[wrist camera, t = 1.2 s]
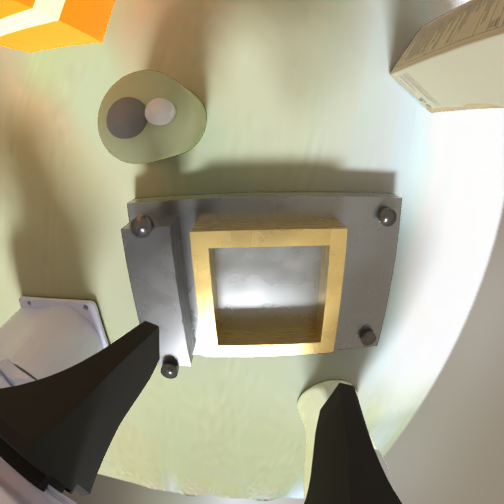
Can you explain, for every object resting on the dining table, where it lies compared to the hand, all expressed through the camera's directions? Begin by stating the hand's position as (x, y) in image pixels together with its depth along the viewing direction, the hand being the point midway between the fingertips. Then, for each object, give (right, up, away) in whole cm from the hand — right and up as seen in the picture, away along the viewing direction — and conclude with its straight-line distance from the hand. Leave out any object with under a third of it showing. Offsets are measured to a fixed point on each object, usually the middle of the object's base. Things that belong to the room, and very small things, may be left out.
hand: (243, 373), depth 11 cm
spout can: (-5, +13, +7) cm, 16 cm away
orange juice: (-13, +24, +3) cm, 28 cm away
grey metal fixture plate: (+1, +3, +11) cm, 11 cm away
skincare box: (+13, +18, +5) cm, 23 cm away
